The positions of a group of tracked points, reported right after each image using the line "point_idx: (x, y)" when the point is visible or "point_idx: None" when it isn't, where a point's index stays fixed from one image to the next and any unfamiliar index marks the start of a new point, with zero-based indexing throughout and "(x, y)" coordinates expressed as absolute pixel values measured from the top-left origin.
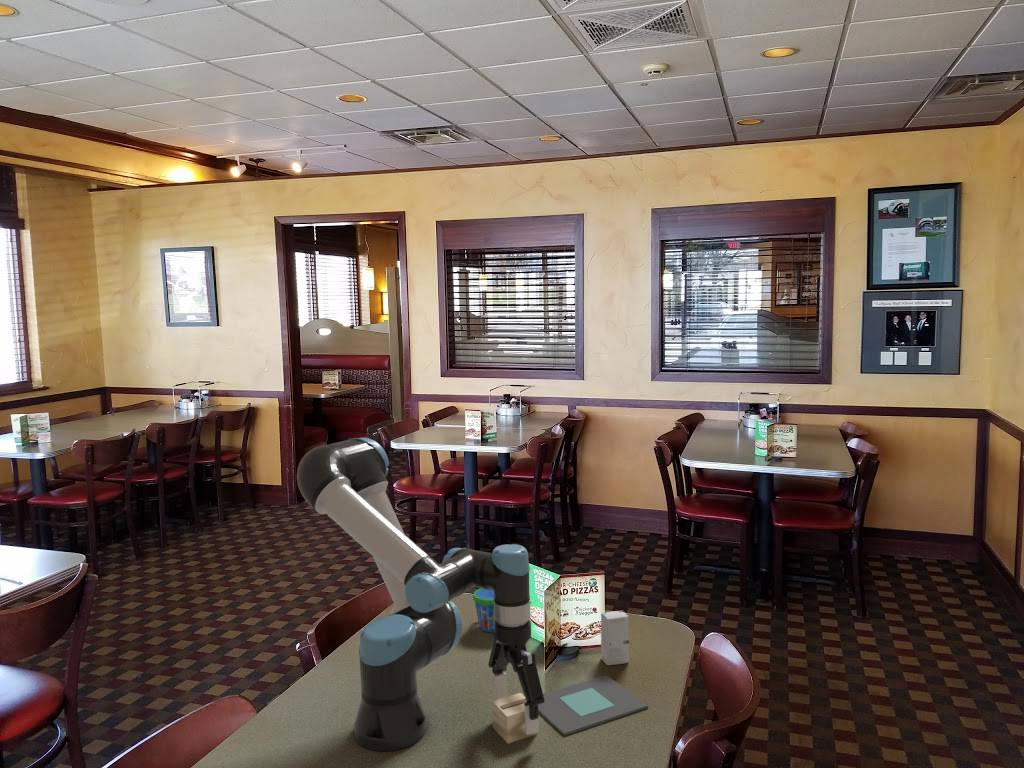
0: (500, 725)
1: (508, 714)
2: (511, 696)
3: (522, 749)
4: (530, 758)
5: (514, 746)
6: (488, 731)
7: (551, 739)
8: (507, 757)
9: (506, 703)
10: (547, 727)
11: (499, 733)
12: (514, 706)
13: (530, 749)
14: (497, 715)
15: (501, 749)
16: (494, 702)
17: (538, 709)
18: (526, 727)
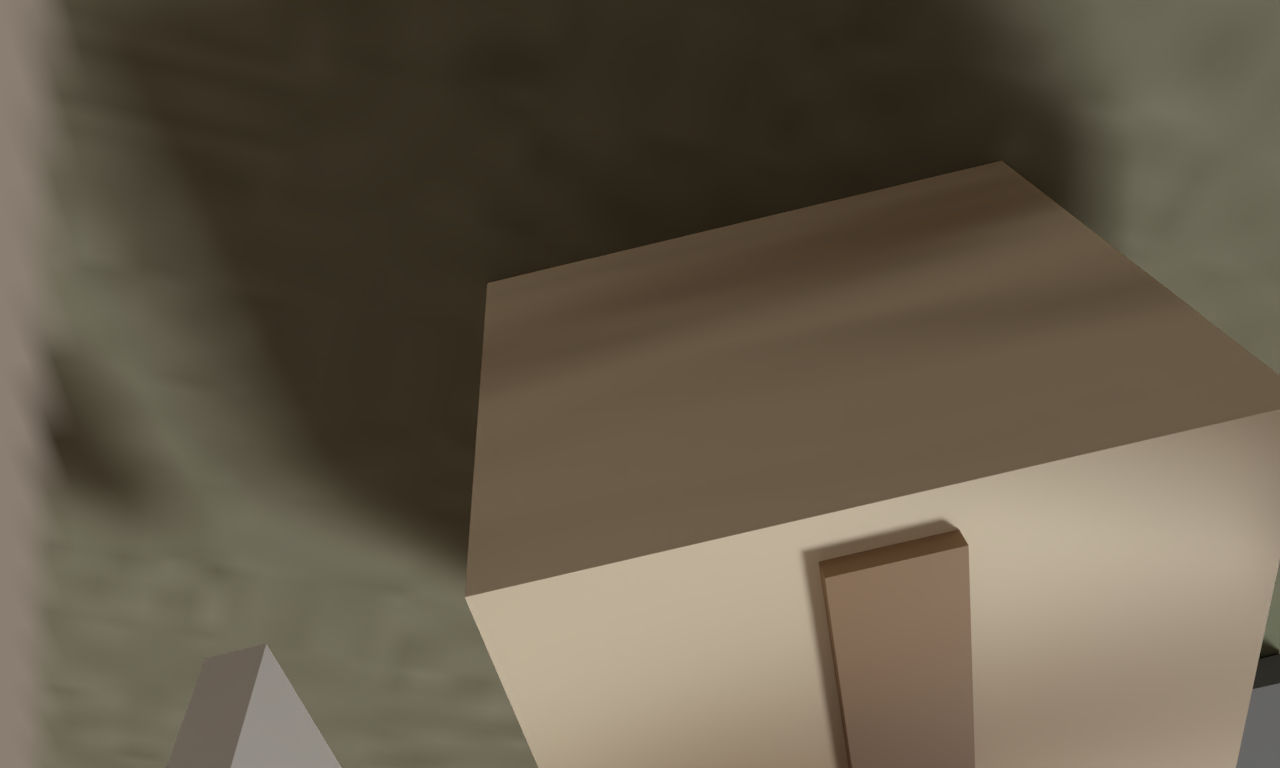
0: (755, 308)
1: (547, 631)
2: (1199, 758)
3: (299, 436)
4: (65, 485)
5: (393, 355)
6: (920, 67)
7: (454, 735)
8: (102, 198)
9: (1014, 655)
10: None
11: (764, 226)
12: (827, 758)
13: (284, 521)
14: (918, 349)
15: (346, 157)
16: (1213, 444)
17: None
18: (184, 761)
